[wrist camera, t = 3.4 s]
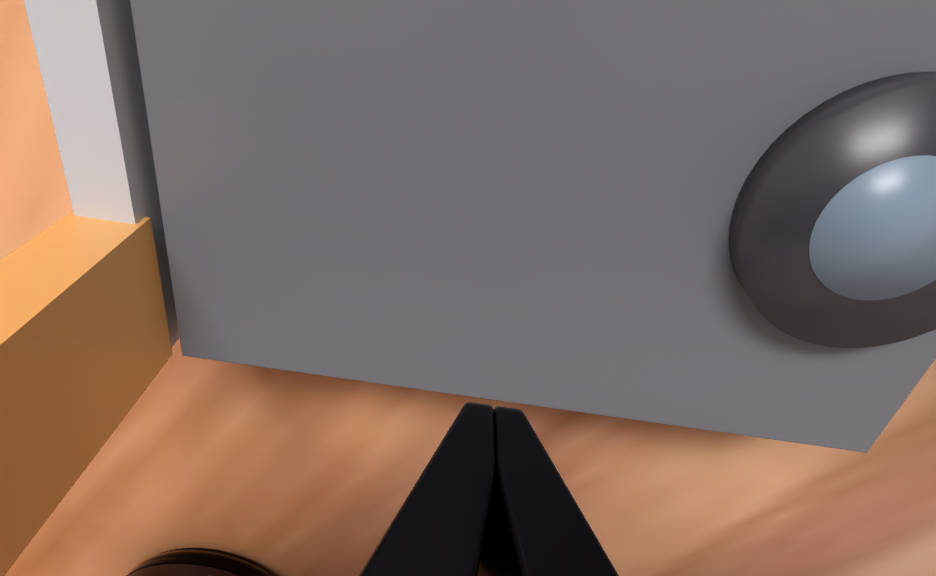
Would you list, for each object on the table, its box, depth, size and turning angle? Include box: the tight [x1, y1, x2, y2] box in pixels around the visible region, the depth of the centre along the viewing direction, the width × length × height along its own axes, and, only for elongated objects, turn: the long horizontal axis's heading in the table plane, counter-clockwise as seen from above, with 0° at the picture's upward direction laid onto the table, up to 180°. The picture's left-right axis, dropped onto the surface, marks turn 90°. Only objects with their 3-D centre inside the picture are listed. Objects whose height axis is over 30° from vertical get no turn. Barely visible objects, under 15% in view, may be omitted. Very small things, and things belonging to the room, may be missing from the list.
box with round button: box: [130, 0, 936, 453], centre depth 10 cm, size 14×10×4 cm
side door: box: [0, 0, 180, 576], centre depth 8 cm, size 1×11×9 cm, turn 172°
